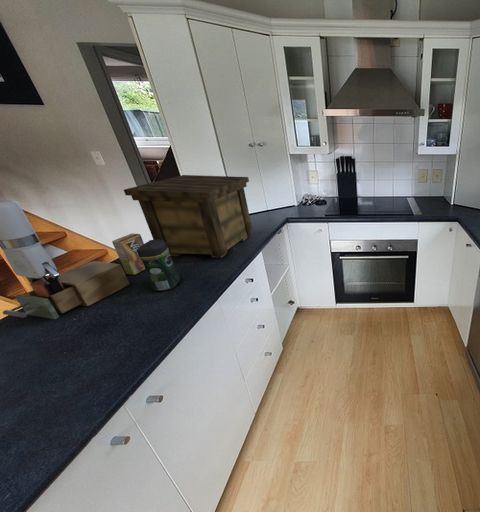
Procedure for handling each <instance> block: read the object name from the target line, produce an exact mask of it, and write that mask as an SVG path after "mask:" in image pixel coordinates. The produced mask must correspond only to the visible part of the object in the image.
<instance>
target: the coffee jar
mask: <svg viewBox="0 0 480 512" xmlns="http://www.w3.org/2000/svg"><path fill="white" fill-rule="evenodd" d="M137 253H138V256H139V258H140V259H141V261H142V262H143V264H144V267H145V269H144V270H145V272H146V275H147V277H148V280H149V283H150V287H151V288H152V290H153V291H156V292H166V291H168V290H171V289H173V288H175V287H176V286H177V285H178V284H179V282H180V279H181V277H180V276H179V273H178V271H177V268H176V266H175V263H174V262H173V259H172V256H170V253H169V249H168V246H167V244H166V242H165V241H163V240H161V239H160V240H153V239H149V240H148V241H146V242H145V243H144V244H143V245H142V246H140V247H139V248H138V249H137Z"/></svg>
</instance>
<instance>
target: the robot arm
mask: <svg viewBox="0 0 480 512" xmlns="http://www.w3.org/2000/svg"><path fill="white" fill-rule="evenodd" d="M41 243H42V241H41V239H40V238H39V236H38V234H37V232H36V231H35V229H34V227H33V226H32V224H31V222H30V221H29V219H28V217H27V215H26V213H25V212H24V210H23V208H22V207H21V205H20V204H19V202H17V201H16V200H13V199H8V198H1V199H0V249H1V251H2V252H3V254H4V256H5V258H6V260H7V262H8V264H9V266H10V267H11V269H12V271H13V272H14V274H15V275H16V276H18V277H23V278H27V281H28V282H29V284H30V283H33V282H35V281H38V280H40V279H42V280H43V282H44V283H45V284H46V285H44V286H45V287H46V289H47V290H48V292H49V294H50V295H54V294H56V293H58V292H60V291H63V288H62V286H61V284H60V283H59V279H58V277H59V276H60V275H59V274H60V273H59V272H58V268H57V266H56V265H55V263H54V261H53V259H52V258H51V256H50V255H49V253H48V252H47V251H46V249H45V247H43V245H42V244H41ZM46 277H49V278H48V280H47V279H46Z"/></svg>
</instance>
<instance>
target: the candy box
mask: <svg viewBox="0 0 480 512" xmlns="http://www.w3.org/2000/svg"><path fill="white" fill-rule="evenodd" d="M111 242H112V245H113V247H114V250H115V252H116V254H117V256H118V258H119V260H120V261H119V262H120V263H121V266H122V269H123V271H124V273H125V275H132V276H135V275H137V274H139V273H140V272H143V271H145V270H146V269H145V267H144V264H143V262H142V261H141V259H140V258H139V256H138V253H137V249H138V248H139V247H140V246H142V245H143V244H145V243H144V240H143V237H142V235H141V233H133V232H132V233H129V234H127V235H124V236H122V237H119V238H116V239H114V240H112V241H111Z"/></svg>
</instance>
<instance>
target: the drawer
mask: <svg viewBox="0 0 480 512" xmlns="http://www.w3.org/2000/svg"><path fill="white" fill-rule="evenodd" d="M62 285H63V287H64V289H65V290H63V291H60V292H58V293H56V294H54V295H51V296H49V297H45V296H38V295H37V294H36V293H35V291H34V290H31V291H27V294H20V293H19V294H16V295H14V298H15V300H16V301H17V303H19V305H18V306H16V307H14V308H11V309H5V310H3V311H2V315H5V316H11V317H16V318H22V319H23V318H26V317H27V316H33V317H39V318H45V319H51V320H57V319H58V318H60V315H59V314H65V313H66V312H68V311H70V310H72V309H74V308H77V307H78V306H81V305H80V304H82V303H84V301H83V300H82V298H81V296H80V294H79V293H78V291H77V289H76V287H75V286H72V285H65V284H62ZM21 308H22V309H23V310H24V312H23V311H17V310H19V309H21Z"/></svg>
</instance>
